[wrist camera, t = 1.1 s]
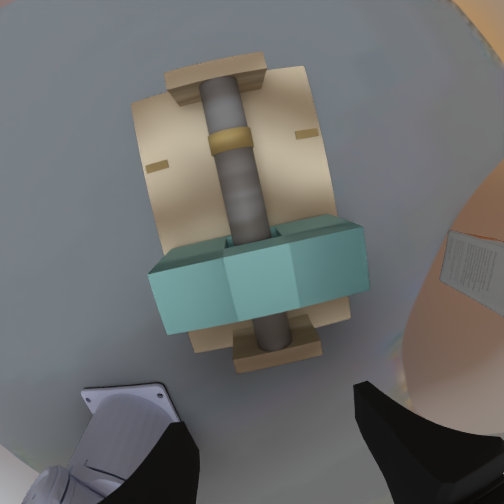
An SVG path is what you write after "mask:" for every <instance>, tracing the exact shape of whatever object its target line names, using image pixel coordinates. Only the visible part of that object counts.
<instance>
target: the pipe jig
mask: <svg viewBox="0 0 504 504" xmlns="http://www.w3.org/2000/svg"><path fill="white" fill-rule="evenodd" d="M164 77H165V82H166V88H167V91H168V92H166V93H163V94H159V95H156V96H153V97H149V98H146V99H143V100H140V101H137V102H134V103H131V107H132V113H133V119H134V125H135V130H136V136H137V141H138V146H139V151H140V156H141V161H142V166H143V170H144V175H145V179H146V184H147V188H148V193H149V197H150V201H151V205H152V210H153V214H154V218H155V222H156V226H157V230H158V233H159V237H160V241H161V245H162V248H163V252H164V256H165V255H166V254H167V253H168V252H169V251H170V250H171V249H172V248H177V247H181V246H185V245H190V244H194V243H198V242H203V241H207V240H211V239H216V238H220V237H225V236H229V235H232V239H233V244H234V246H238V245H243V244H247V243H252V242H256V241H261V240H265V239H270V238H272V236H271V231H270V226H274V225H279V224H283V223H288V222H293V221H297V220H302V219H307V218H312V217H316V216H321V215H326V214H330V215H333V216H336V217H337V211H336V205H335V199H334V194H333V188H332V183H331V178H330V173H329V168H328V163H327V158H326V153H325V149H324V144H323V140H322V135H321V131H320V126H319V122H318V118H317V114H316V110H315V106H314V102H313V98H312V94H311V90H310V86H309V83H308V79H307V75H306V72H305V68H304V66H297V67H289V68H281V69H273V70H267V66H266V63H265V59H264V55H263V52H256V53H250V54H244V55H238V56H233V57H227V58H222V59H217V60H213V61H208V62H204V63H200V64H195V65H191V66H187V67H183V68H180V69H176V70H172V71H169V72H165V73H164ZM350 318H351V316H350V306H349V297H348V296H345V297H341V298H338V299H334V300H330V301H326V302H322V303H318V304H314V305H310V306H306V307H302V308H298V309H293V310H289V311H285V312H281V313H276V314H272V315H267V316H263V317H258V318H254V319H249V320H244V321H239V322H235V323H230V324H225V325H220V326H215V327H209V328H204V329H199V330H193V331H188V334H189V337H190V340H191V343H192V346H193V349H194V352H195V353H199V352H205V351H210V350H216V349H221V348H227V347H232V346H233V363H234V366H235V369H236V373H237V374H239V373H245V372H250V371H255V370H260V369H265V368H269V367H274V366H278V365H283V364H287V363H292V362H296V361H300V360H304V359H308V358H312V357H316V356H320V355H323V354H322V346H321V340H320V338H319V336H318V334H317V332H316V330H315V328H317V327H320V326H324V325H328V324H332V323H336V322H339V321H343V320H347V319H350Z"/></svg>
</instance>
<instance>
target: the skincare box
mask: <svg viewBox="0 0 504 504" xmlns="http://www.w3.org/2000/svg"><path fill="white" fill-rule="evenodd" d="M440 281H441V282H443V283H445V284H447V285H449V286H450V287H452V288H454V289H456V290H458V291H460V292H461V293H463V294H465V295H467V296H468V297H470V298H472V299H474V300H476V301H477V302H479V303H481V304H482V305H484V306H486V307H488V308H489V309H491V310H493V311H494V312H496V313H498V314H499V315H501V316H503V317H504V241H501V240H497V239H493V238H487V237H481V236H476V235H471V234H466V233H461V232H456V231H452V230H450V231H449V233H448V239H447V245H446V251H445V256H444V261H443V265H442V270H441V275H440Z"/></svg>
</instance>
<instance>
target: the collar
mask: <svg viewBox="0 0 504 504" xmlns="http://www.w3.org/2000/svg"><path fill="white" fill-rule="evenodd" d="M270 231H271V236H272V238H270V239H265V240H261V241H256V242H252V243H247V244H243V245H238V246H234V244H233V239H232V235H229V236H225V237H220V238H216V239H211V240H207V241H203V242H198V243H194V244H190V245H185V246H181V247H177V248H172V249H171V250H170V251H169V252H168V253H167V254H166V255H165V256H164V257H163V258H162V259H161V260H160V261H159V262H158V263H157V265H156V266H155V267H154V268H153V269H152V270H151V271H150V272H149V273H148V274H147V275H148V278H149V282H150V285H151V288H152V291H153V294H154V297H155V301H156V304H157V307H158V310H159V313H160V316H161V318H162V321H163V324H164V327H165V330H166V333H167V335H171V334H177V333H182V332H188V331H193V330H199V329H204V328H209V327H215V326H220V325H225V324H230V323H235V322H239V321H244V320H249V319H254V318H258V317H263V316H267V315H272V314H276V313H281V312H285V311H289V310H293V309H298V308H302V307H306V306H310V305H314V304H318V303H322V302H326V301H330V300H334V299H338V298H341V297H345V296H349V295H353V294H356V293H360V292H364V291H367V290H370V283H369V273H368V263H367V254H366V246H365V238H364V230H363V226H360V225H357V224H355V223H352V222H349V221H347V220H344V219H341V218H339V217H336V216H333V215H330V214H326V215H321V216H316V217H312V218H307V219H302V220H297V221H293V222H288V223H283V224H279V225H274V226H270Z"/></svg>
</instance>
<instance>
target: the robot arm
mask: <svg viewBox="0 0 504 504" xmlns="http://www.w3.org/2000/svg"><path fill="white" fill-rule="evenodd" d="M353 388H354V404H355V418H356V421H357V424H358V427H359V429H360V432H361V434H362V437H363V439H364V440H365V442H366V444H367V446H368V448H369V450H370V451H371V453H372V455H373V457H374V459H375V461H376V462H377V464H378V466H379V468H380V470H381V471H382V473H383V476H384V478H385V480H386V482H387V485H388V487H389V490H390V493H391V495H392V498H393V501H394V504H504V474H503V472H504V440H503V439H502V438H501V437H496V436H484V435H476V434H470V433H465V432H461V431H457V430H454V429H450V428H447V427H444V426H441V425H438V424H436V423H433V422H431V421H429V420H427V419H425V418H423V417H421V416H419V415H417V414H415V413H413V412H411V411H410V410H408V409H406V408H405V407H403V406H402V405H400V404H398V403H397V402H395V401H394V400H392V399H391V398H390V397H388V396H387V395H385V394H384V393H383V392H381V391H380V390H379V389H378V388H376V387H375V386H374V385H372V384H371V383H370V382H368V381H365V382H362V383H359V384H355V385H353ZM158 393H161V394H162V395H159V394H158ZM81 395H82V397H83V399H84V401H85V402H86V404H87V406H88V407H89V409H90V411H91V412H92V414H93V417H92V419H91V421H90V422H89V424H88V426H87V428H86V430H85V432H84V434H83V436H82V438H81V440H80V442H79V444H78V446H77V448H76V450H75V452H74V454H73V456H72V458H71V460H70V462H69V464H68V466H67V468H66V469H65V468H64V467H62V466H60V465H58V466H53V467H47V468H46V469H45V470H44V471H43V472H42V473H41V474H40V475H39V476H38V478H37V479H36V480H35V482H34V483H33V485H32V486H31V488H30V489H29V491H28V492H27V494H26V496H25V498H24V500H23V502H22V504H196V497H197V489H198V480H199V472H200V458H199V449H198V447H197V446H196V444H195V442H194V440H193V438H192V436H191V435H190V433H189V431H188V429H187V427H186V425H185V423H184V421H182V422H181V421H180V419H179V417H178V415H177V413H176V411H175V409H174V407H173V405H172V403H171V401H170V399H169V397H168V394H167V392H166V390H165V388H164V386H163V385H161V384H157V383H156V384H147V385H137V386H125V387H112V388H95V389H83V390H82V392H81ZM88 398H89V399H88Z"/></svg>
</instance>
